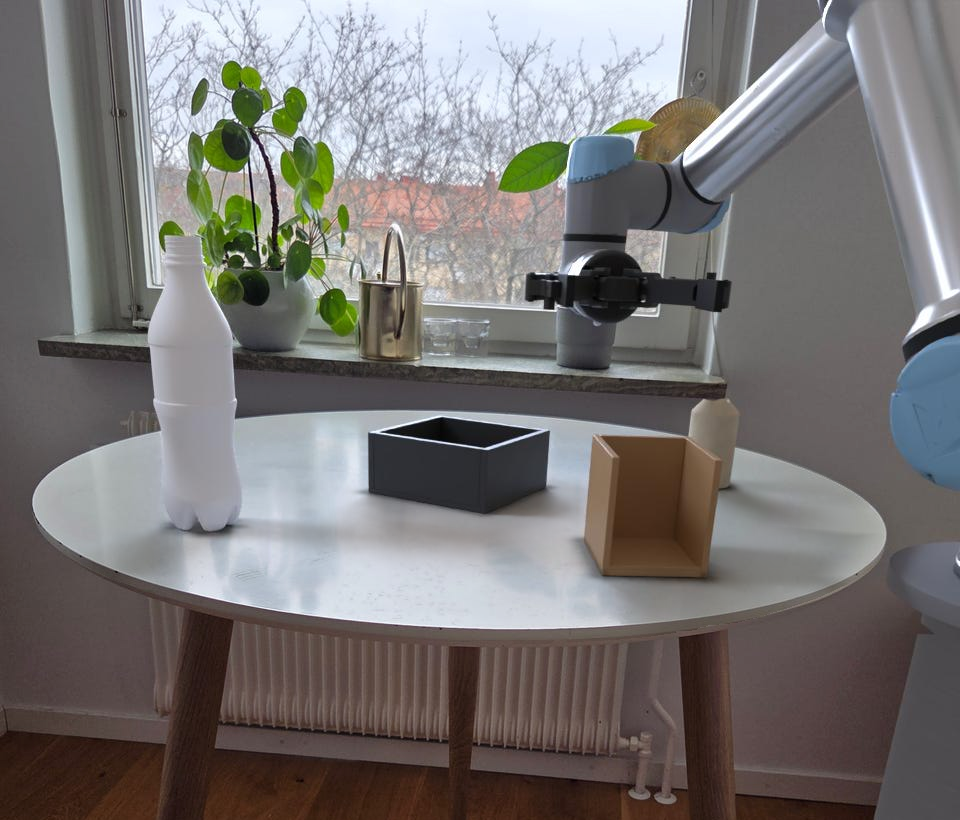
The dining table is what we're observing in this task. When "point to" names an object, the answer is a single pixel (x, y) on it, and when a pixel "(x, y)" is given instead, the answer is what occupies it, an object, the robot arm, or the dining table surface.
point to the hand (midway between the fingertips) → (645, 293)
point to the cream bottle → (716, 432)
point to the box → (651, 505)
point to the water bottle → (194, 393)
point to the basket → (458, 462)
